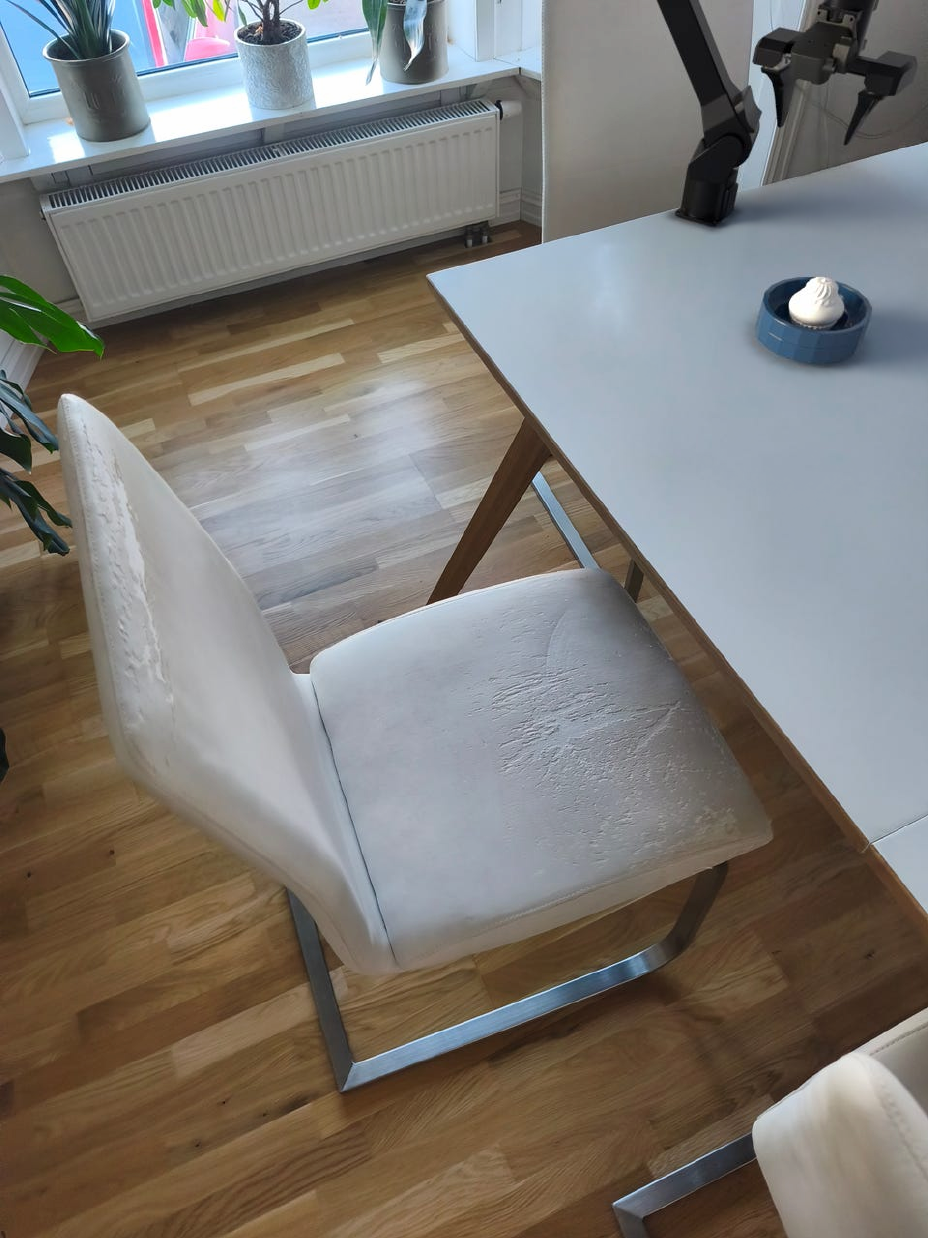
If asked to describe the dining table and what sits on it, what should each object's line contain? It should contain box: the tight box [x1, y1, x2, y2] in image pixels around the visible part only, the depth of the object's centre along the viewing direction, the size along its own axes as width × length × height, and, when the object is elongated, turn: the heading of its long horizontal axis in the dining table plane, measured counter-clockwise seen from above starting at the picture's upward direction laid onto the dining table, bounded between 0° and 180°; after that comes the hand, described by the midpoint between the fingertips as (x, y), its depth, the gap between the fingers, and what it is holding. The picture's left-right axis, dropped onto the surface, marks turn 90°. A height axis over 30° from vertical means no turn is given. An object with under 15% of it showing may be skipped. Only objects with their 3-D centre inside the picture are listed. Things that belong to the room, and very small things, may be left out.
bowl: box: [754, 276, 873, 364], centre depth 101 cm, size 12×12×4 cm
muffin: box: [789, 276, 844, 331], centre depth 100 cm, size 6×6×7 cm
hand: (812, 135), depth 111 cm, fingers open, 9 cm apart
